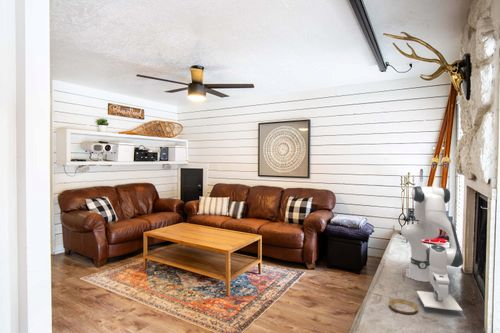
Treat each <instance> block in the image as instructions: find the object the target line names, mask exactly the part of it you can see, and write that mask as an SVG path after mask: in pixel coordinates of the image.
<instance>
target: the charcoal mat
mask: <svg viewBox="0 0 500 333" xmlns="http://www.w3.org/2000/svg"><path fill="white" fill-rule="evenodd" d="M415 299H416V300H417V303H418V304H419V306H420V308H421V310H422V311H423V314H424V315H428V316H429V315H430V316H436V317H437V316H438V317H445V318H446V317H447V318H456V319H461V320H462V319H464V320H468V318H467V316H465V313H463V311H457V310H449V309H440V308H432V307H425V306H424V304H423V303H422V301H421V299H420V297H416V296H415Z"/></svg>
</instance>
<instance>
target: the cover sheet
mask: <svg viewBox="0 0 500 333" xmlns="http://www.w3.org/2000/svg"><path fill="white" fill-rule="evenodd" d="M416 294H417V295H418V298H420V299H421V301H422V303H423V304H424V306H425V307H432V308H440V309H449V310H457V311H461V312H463V309H462V307H461V306H460V305H459V303H458V302H457V300H456V299H455V298H454V297H453V295H452V294H450V293H448V297H447V298H442V300H441V301H440V300H438V299H437V296H438V293H437V292H436V291H434V290H433V292H431V291H423V290H416Z"/></svg>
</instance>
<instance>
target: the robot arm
mask: <svg viewBox="0 0 500 333" xmlns="http://www.w3.org/2000/svg"><path fill="white" fill-rule="evenodd" d="M411 198H412V201H414V202H415V205H414V210H413V211H414V212H413V216H414V218H415V219H416V220H418V221H419V223H410V224H405V225H402V227H401V229H400V235H401V236H402V237H403V239H405V240H406V241H407V242H408V243H409V245H410V250H411V251H410V252H411V253H410V254H411V257H410V262H409V263H408V265H406V268H405V277H406V278H409V279H412V280H415V281H418V282H423V283H426V282H427V283H428V282H429V283H430V284H431V286H432V287H433V292H434V291H436V292H437V293H438V296H437V299H438V300H440V301H441V300H442V298H447V297H448V294H449V284H450V282H451V281H450V278H449V275H448V268H447V267H448V266H449V267H453V268H459V267H461V266H463V264H464V262H465V260H464V255H463V253H462V251H461V250H462V249H461V247H460V242H459V239H458V235H457V231H456V228H455V225H454V223H453V222H452V221H450V219H449V218H448V216H447V208H446V204H448V203H449V201H450V200H451V192H450V190H449V189H448V188H446V187H438V186H420V185H419V186H418V185H417V186H414V187H413V188H412V190H411ZM440 230H441V231H443V232H444V233H446V234H447V236H448V240H449V243H450V247H451V248H446V247H445V246H443V245H440V244H433V245H431V246H429V247H428V246H427V245H425V244H424V243H423V242H422V241H423V240H433V239H437V238H438V237H439V236H440Z"/></svg>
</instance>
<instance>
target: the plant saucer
mask: <svg viewBox="0 0 500 333" xmlns="http://www.w3.org/2000/svg"><path fill="white" fill-rule="evenodd" d="M388 304H389V306H390V307H391V308H392V310H393V311H395V312H398V313H400V314H404V315H405V314H406V315H411V314H415V313H416V312H417V311H418V310H419V308H418V306H417V304H416V303H414V302H412V301H409V300H407V299H403V298H402V299H401V298H394V299H391V300H389V302H388ZM396 304H403V305H407V306H410V307H411V308H412V309H413V310H414V311H404V310H400V309H397V308H396Z"/></svg>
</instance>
